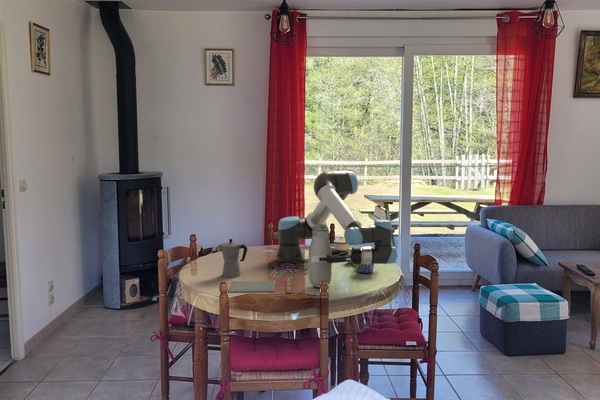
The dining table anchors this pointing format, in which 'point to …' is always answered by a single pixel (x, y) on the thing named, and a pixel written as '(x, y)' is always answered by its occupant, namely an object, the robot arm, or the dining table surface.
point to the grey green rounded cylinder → (319, 247)
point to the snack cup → (364, 267)
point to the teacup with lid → (340, 244)
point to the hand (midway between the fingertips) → (310, 256)
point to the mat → (252, 286)
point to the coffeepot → (232, 258)
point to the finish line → (288, 286)
